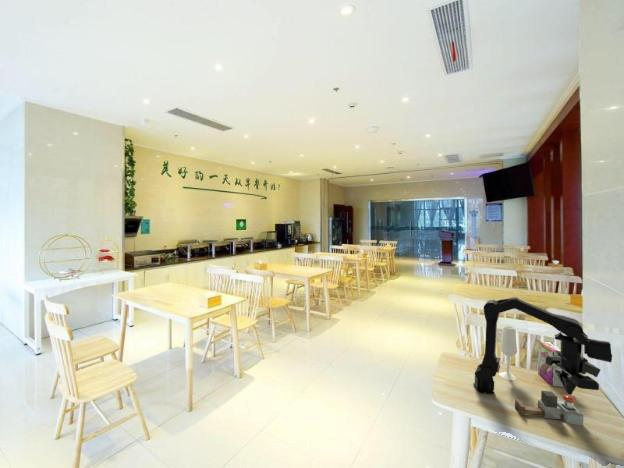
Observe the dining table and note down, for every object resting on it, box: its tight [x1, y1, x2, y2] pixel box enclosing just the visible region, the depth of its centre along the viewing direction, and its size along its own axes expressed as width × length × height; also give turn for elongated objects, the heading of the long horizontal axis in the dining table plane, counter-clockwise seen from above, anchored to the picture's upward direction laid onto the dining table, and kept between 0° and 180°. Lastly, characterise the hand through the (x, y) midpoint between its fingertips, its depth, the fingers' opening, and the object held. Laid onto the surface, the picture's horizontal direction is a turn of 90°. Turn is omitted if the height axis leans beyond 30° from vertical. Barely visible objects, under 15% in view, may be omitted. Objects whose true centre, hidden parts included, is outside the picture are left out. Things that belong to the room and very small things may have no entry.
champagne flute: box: [498, 324, 518, 381], centre depth 133 cm, size 7×7×24 cm
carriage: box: [537, 390, 561, 420], centre depth 106 cm, size 5×4×8 cm
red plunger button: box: [562, 393, 577, 411], centre depth 104 cm, size 4×4×5 cm
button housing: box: [557, 400, 585, 426], centre depth 105 cm, size 5×7×4 cm
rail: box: [514, 399, 563, 420], centre depth 106 cm, size 14×4×4 cm, turn 79°
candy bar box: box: [537, 340, 564, 388], centre depth 130 cm, size 11×5×16 cm, turn 168°
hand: (568, 393), depth 104 cm, fingers closed
